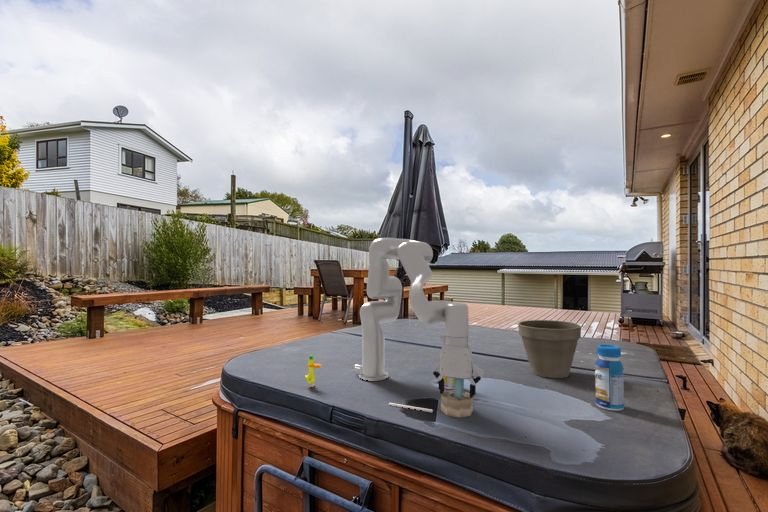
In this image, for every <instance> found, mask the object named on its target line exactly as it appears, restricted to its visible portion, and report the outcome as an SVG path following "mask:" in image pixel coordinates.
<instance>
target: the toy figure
mask: <svg viewBox="0 0 768 512" xmlns="http://www.w3.org/2000/svg"><path fill="white" fill-rule="evenodd" d="M307 359H308V362H307V363H308V364H307V365H306V367H308V374H307V375H306V374H305V375H304V376H305V379H306V382H307V383H308V384H309V386H310V385H311V384H312V385H313V384H314V382H315V380H316V378H315V377H316V376H315V373H314V369H320V368H321V367H322V364H320V363H315V362H314V361H315V360H314V356H313V354H312V355H308V358H307Z"/></svg>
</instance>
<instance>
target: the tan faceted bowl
mask: <svg viewBox="0 0 768 512" xmlns="http://www.w3.org/2000/svg"><path fill="white" fill-rule="evenodd" d="M440 394H441V393H440ZM473 406H474V396H473V397H472V398H470V392H467V391H466V390H465V391H463V397H462V398H454V390H444V392H443V393H442V394H441V395H440V411H441V413H443V414H444V415H446V416H447V417H455V418H466V417H469V416H472V413H473V411H474V407H473Z"/></svg>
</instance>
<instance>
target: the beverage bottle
mask: <svg viewBox="0 0 768 512" xmlns="http://www.w3.org/2000/svg"><path fill="white" fill-rule="evenodd" d="M596 348H597V350H596V351H597V356H599V357H598V358H597V359H596V361H595V364H594V367H595V368H596V369H595V371H594V376H595V405H596V406H598V407H599V408H601V409H604V410H607V411H611V412H612V411H613V412H616V411H617V412H618V411H619V412H620V411H623V410H624V408H625V397H624V396H625V395H624V393H625V392H624V391H625V390H624V386H625V385H624V384H625V383H624V380H625V373H624V369H625V367H624V365H623V363H622V362H621V360H620V359H621V357H622V349H621V347H620V346H618V345H613V344H598V345H597V347H596Z"/></svg>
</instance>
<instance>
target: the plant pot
mask: <svg viewBox="0 0 768 512" xmlns="http://www.w3.org/2000/svg"><path fill="white" fill-rule="evenodd" d="M517 324H518V325H517V326H518V334H519V335H520V336H521V339H522V343H523V347H524V350H525V354H526V357H527V360H528V363H529V367H530V369H531V372H532V374H534V375H535V376H538V375H539V377H541V376H542V378H546V377H548V379H564V377H565V378H568V376H570V371H571V368H572V364H573V360H574V357H575V353H576V350H577V345H578V341H579V339H580V338H581V337H582V333H581V332H582V326H581V325H580V324H578V323H574V322H570V321H563V320H553V319H552V320H551V319H550V320H549V319H548V320H547V319H540V320H539V319H533V320H530V319H529V320H523V321H519V322H518V323H517Z"/></svg>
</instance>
